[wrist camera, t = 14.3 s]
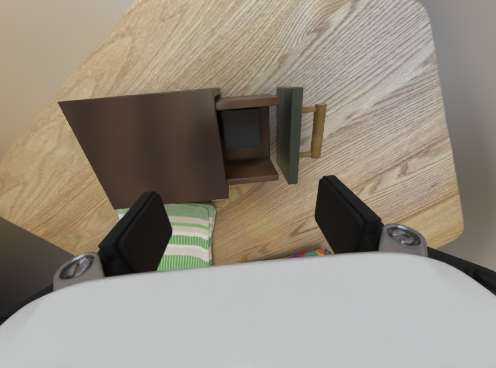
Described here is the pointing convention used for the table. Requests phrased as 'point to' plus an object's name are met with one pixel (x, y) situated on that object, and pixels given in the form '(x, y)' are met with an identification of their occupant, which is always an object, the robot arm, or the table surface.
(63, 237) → the table surface
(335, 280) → the robot arm
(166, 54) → the table surface
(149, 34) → the table surface
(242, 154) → the drawer
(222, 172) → the cabinet
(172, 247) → the dish towel
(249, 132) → the block
